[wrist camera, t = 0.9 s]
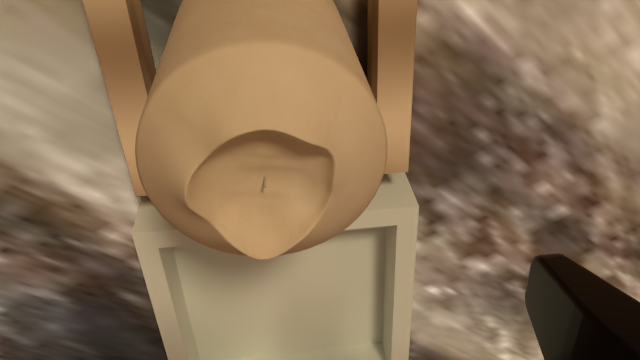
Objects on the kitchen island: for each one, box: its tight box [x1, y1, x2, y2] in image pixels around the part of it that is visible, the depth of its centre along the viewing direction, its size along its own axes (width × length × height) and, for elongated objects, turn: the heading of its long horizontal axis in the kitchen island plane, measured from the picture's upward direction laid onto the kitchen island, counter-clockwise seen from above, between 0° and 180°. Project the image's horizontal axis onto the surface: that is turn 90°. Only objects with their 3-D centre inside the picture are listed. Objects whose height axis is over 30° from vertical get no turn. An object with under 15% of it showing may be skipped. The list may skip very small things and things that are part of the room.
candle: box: [135, 0, 388, 260], centre depth 15 cm, size 6×6×10 cm
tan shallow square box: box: [83, 0, 417, 197], centre depth 19 cm, size 10×10×2 cm
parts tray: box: [132, 172, 419, 360], centre depth 25 cm, size 11×11×2 cm
